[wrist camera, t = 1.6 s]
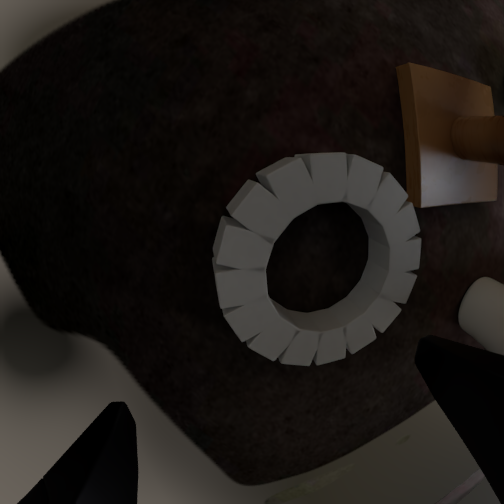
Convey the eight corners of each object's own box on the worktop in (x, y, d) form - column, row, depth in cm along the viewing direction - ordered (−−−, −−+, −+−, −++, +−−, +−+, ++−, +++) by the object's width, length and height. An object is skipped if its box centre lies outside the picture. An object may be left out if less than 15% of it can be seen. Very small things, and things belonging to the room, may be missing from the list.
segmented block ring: (397, 151, 17) (422, 152, 14) (391, 321, 20) (409, 337, 18) (199, 164, 15) (199, 164, 13) (228, 359, 19) (233, 383, 16)
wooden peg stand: (477, 88, 16) (562, 83, 8) (483, 197, 19) (567, 221, 11) (395, 66, 15) (497, 38, 7) (405, 204, 18) (511, 238, 10)
